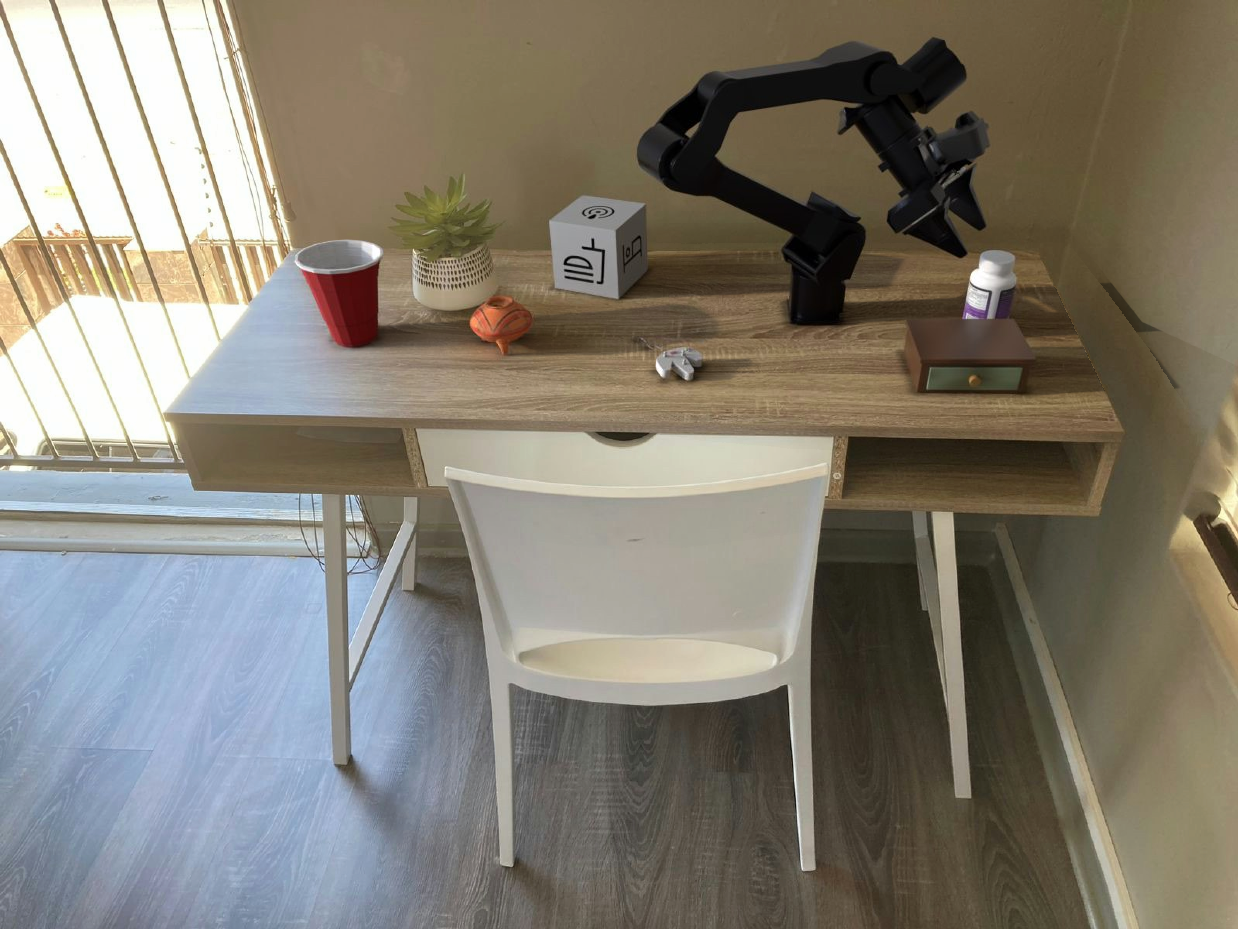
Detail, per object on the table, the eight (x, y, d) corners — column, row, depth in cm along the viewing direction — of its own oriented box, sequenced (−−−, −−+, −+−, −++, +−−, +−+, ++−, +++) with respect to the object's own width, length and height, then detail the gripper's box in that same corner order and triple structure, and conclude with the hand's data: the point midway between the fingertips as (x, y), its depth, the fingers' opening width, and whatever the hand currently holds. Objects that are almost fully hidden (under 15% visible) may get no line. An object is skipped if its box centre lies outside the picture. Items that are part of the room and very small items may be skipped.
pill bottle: (1000, 318, 122) (1016, 247, 116) (1010, 338, 117) (1027, 265, 112) (957, 317, 122) (970, 247, 117) (965, 337, 118) (979, 265, 112)
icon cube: (618, 298, 131) (615, 230, 125) (555, 287, 134) (549, 220, 128) (647, 269, 138) (646, 203, 132) (586, 260, 141) (582, 195, 136)
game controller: (681, 388, 111) (681, 368, 110) (608, 359, 118) (607, 340, 116) (710, 368, 115) (710, 349, 113) (638, 340, 121) (637, 322, 119)
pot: (461, 355, 119) (457, 302, 116) (487, 340, 126) (484, 289, 123) (519, 361, 117) (517, 307, 114) (543, 344, 124) (541, 293, 121)
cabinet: (915, 397, 108) (921, 362, 105) (900, 352, 116) (905, 318, 113) (1029, 397, 107) (1038, 362, 104) (1006, 352, 115) (1013, 318, 112)
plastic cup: (415, 333, 125) (399, 248, 118) (346, 365, 119) (325, 278, 112) (368, 309, 131) (350, 227, 124) (300, 339, 125) (277, 254, 118)
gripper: (930, 117, 101) (1016, 232, 103) (974, 74, 114) (1049, 178, 116) (851, 179, 109) (932, 285, 111) (900, 132, 122) (971, 228, 124)
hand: (974, 241), depth 115 cm, fingers open, 9 cm apart
